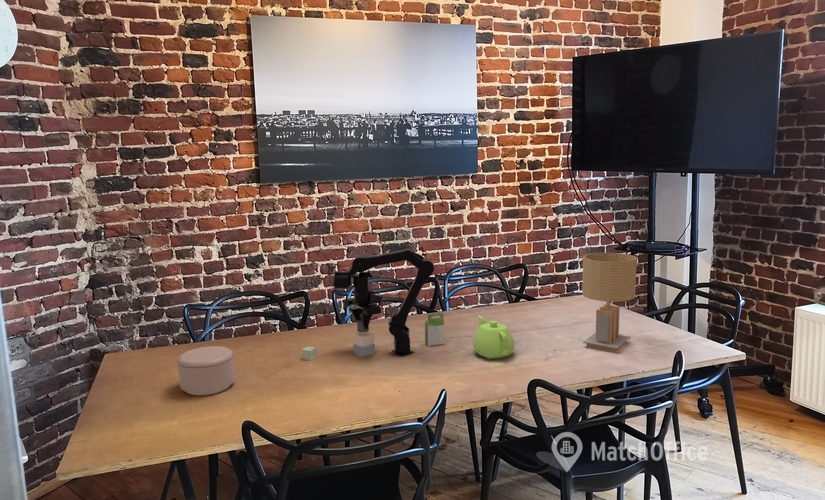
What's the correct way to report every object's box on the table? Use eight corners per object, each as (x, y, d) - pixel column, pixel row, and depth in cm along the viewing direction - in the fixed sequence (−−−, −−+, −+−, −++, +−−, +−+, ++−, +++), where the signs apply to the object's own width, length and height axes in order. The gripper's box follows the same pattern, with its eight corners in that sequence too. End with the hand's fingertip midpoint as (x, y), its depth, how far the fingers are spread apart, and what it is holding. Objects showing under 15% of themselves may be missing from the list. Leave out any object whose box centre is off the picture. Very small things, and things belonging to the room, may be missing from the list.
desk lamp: (624, 356, 220) (627, 263, 214) (573, 347, 232) (575, 258, 226) (639, 342, 236) (643, 255, 230) (591, 334, 247) (593, 251, 241)
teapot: (462, 347, 235) (461, 315, 233) (495, 342, 241) (495, 311, 238) (488, 365, 215) (488, 331, 213) (524, 359, 220) (524, 325, 218)
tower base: (375, 354, 231) (374, 344, 230) (361, 357, 228) (361, 347, 227) (367, 350, 236) (366, 340, 235) (354, 353, 232) (353, 343, 232)
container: (216, 372, 216) (214, 341, 214) (246, 384, 204) (243, 351, 202) (170, 388, 202) (166, 355, 200) (198, 401, 191) (195, 367, 189)
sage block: (316, 357, 229) (316, 347, 228) (310, 360, 225) (309, 350, 224) (308, 356, 230) (308, 346, 230) (302, 359, 227) (301, 349, 226)
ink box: (441, 341, 243) (440, 309, 241) (444, 344, 240) (443, 312, 237) (425, 343, 241) (424, 311, 239) (428, 346, 238) (427, 314, 235)
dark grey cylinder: (371, 330, 229) (370, 320, 229) (361, 333, 227) (360, 323, 226) (365, 328, 233) (364, 318, 232) (355, 330, 230) (354, 320, 230)
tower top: (373, 343, 231) (373, 333, 230) (363, 347, 227) (362, 337, 227) (365, 340, 235) (364, 331, 234) (354, 344, 231) (353, 334, 230)
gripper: (392, 289, 224) (393, 328, 227) (366, 281, 239) (368, 318, 242) (367, 294, 218) (369, 334, 221) (342, 285, 233) (344, 323, 235)
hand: (363, 327), depth 230 cm, fingers closed on dark grey cylinder, 4 cm apart
